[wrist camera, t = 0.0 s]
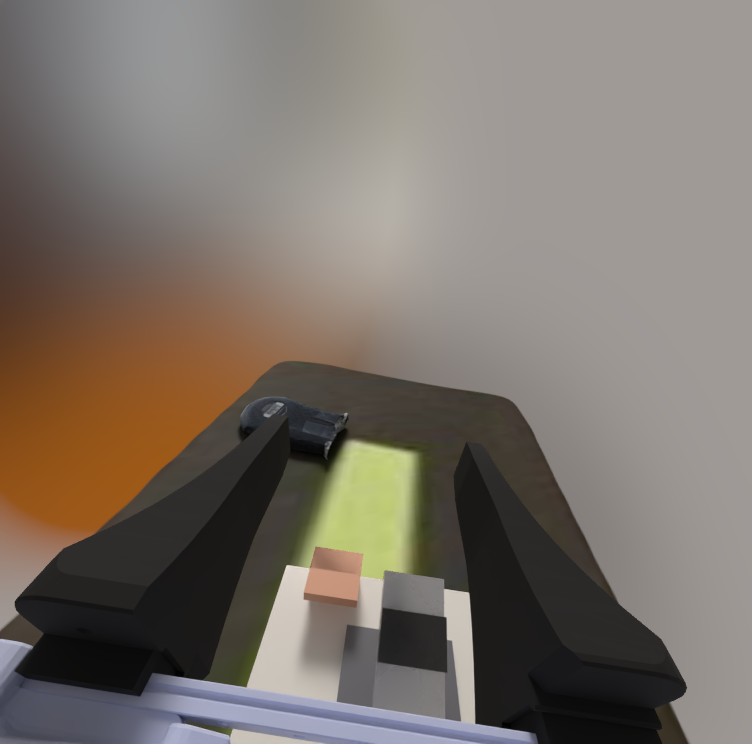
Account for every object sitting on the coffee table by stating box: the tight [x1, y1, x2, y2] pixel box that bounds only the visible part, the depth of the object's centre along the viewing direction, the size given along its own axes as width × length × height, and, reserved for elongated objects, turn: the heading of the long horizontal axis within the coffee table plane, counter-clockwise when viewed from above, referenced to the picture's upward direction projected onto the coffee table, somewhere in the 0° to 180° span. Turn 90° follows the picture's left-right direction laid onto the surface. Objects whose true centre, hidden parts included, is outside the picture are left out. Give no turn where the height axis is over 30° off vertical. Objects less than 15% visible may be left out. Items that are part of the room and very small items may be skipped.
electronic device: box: [240, 397, 349, 459], centre depth 45 cm, size 9×6×15 cm
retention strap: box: [372, 571, 447, 719], centre depth 17 cm, size 14×4×2 cm, turn 176°
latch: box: [304, 547, 363, 608], centre depth 25 cm, size 4×4×3 cm
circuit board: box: [230, 565, 475, 744], centre depth 19 cm, size 18×20×4 cm
